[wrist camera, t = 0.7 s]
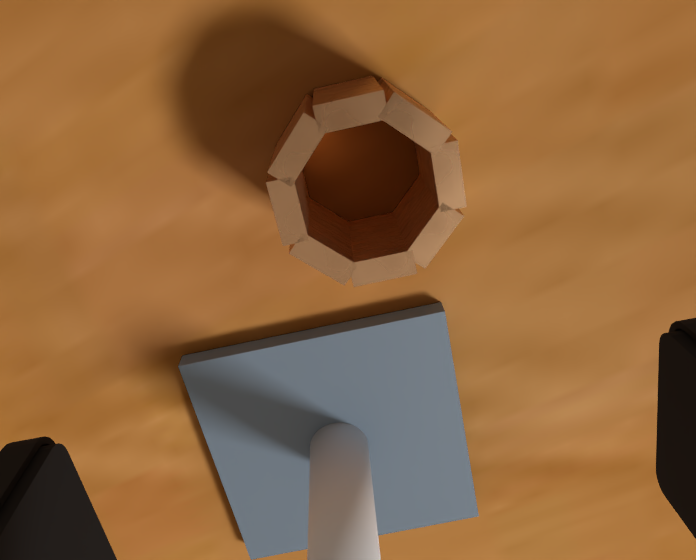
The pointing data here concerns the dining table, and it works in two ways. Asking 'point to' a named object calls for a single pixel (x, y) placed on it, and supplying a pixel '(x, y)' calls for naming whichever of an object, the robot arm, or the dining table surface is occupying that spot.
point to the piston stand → (336, 433)
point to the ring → (377, 231)
